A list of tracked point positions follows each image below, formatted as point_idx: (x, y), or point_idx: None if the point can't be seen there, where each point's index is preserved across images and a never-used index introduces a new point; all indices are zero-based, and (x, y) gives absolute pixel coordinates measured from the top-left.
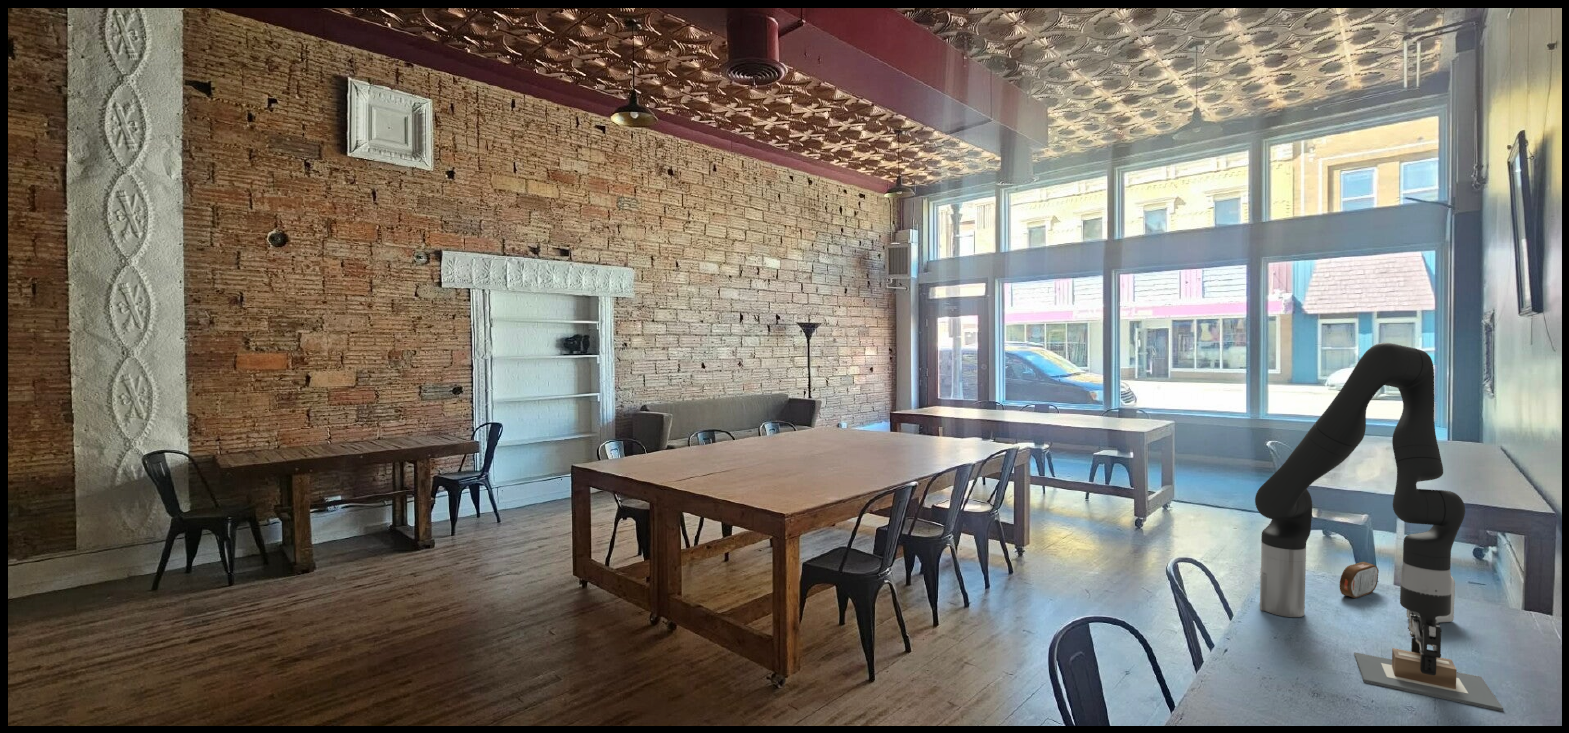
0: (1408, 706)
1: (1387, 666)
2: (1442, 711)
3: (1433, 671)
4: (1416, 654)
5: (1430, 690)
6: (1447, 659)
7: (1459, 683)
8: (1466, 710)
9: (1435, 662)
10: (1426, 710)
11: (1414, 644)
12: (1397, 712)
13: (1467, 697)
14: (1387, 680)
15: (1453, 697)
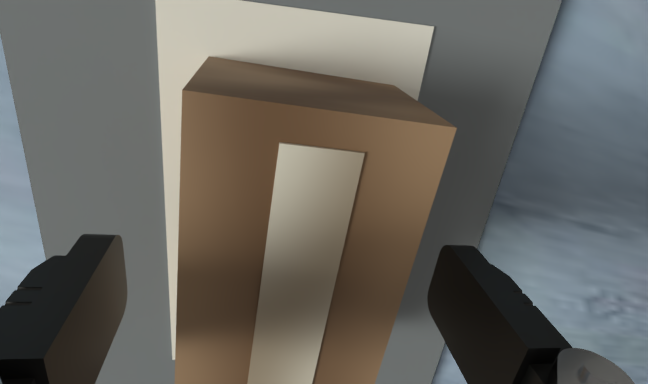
0: (593, 307)
1: None
2: (620, 207)
3: (506, 279)
4: (223, 334)
5: (450, 218)
6: (204, 131)
7: (272, 23)
8: (598, 101)
9: (524, 314)
10: (618, 260)
11: (87, 382)
12: (643, 341)
13: (489, 53)
14: (396, 354)
15: (507, 133)
